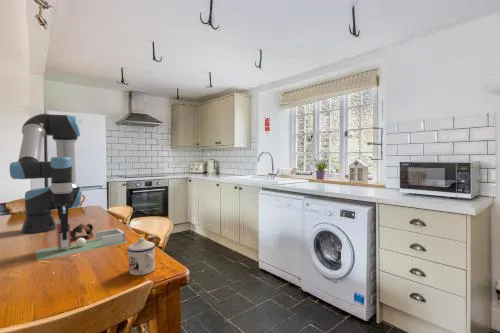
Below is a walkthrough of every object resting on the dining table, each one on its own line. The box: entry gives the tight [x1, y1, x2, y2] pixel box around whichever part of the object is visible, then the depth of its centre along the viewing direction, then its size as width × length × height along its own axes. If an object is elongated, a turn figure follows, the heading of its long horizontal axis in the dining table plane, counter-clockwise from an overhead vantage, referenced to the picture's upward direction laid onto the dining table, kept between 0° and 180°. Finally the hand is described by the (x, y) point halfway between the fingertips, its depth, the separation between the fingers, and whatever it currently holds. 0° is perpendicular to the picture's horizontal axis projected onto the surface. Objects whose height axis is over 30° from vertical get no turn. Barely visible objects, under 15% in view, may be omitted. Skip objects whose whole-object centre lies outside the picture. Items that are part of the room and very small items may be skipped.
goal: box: [95, 228, 127, 246], centre depth 132 cm, size 12×10×4 cm
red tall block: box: [56, 218, 72, 249], centre depth 119 cm, size 4×4×12 cm
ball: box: [74, 237, 87, 247], centre depth 124 cm, size 4×4×4 cm
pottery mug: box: [70, 223, 94, 240], centre depth 138 cm, size 12×10×8 cm
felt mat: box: [34, 238, 128, 262], centre depth 125 cm, size 16×34×1 cm, turn 131°
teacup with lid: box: [127, 237, 156, 276], centre depth 97 cm, size 12×9×12 cm
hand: (64, 245), depth 120 cm, fingers closed on red tall block, 4 cm apart
